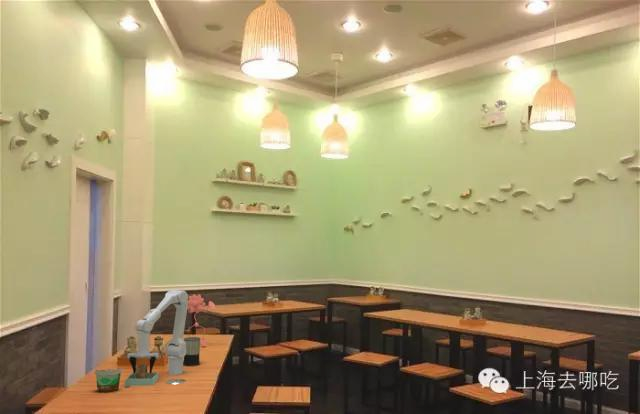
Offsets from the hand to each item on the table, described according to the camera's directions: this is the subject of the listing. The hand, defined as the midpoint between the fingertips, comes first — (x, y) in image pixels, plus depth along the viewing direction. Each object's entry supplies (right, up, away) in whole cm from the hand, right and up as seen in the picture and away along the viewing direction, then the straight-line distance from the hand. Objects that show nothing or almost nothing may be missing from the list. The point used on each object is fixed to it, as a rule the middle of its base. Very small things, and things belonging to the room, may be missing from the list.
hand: (142, 372), depth 277 cm
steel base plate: (+16, -6, +1) cm, 17 cm away
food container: (-12, -5, -14) cm, 19 cm away
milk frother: (+11, -8, +41) cm, 43 cm away
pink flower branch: (+5, -11, +92) cm, 93 cm away
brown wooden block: (0, -5, 0) cm, 5 cm away
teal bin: (0, -5, 0) cm, 5 cm away
